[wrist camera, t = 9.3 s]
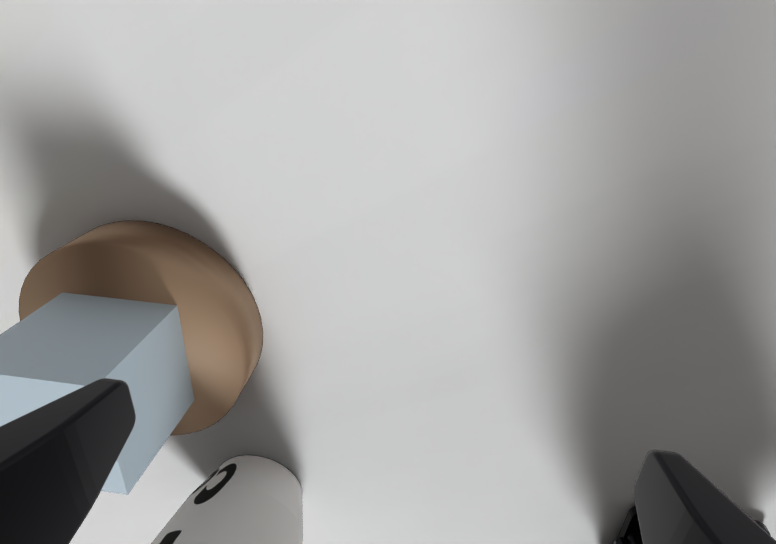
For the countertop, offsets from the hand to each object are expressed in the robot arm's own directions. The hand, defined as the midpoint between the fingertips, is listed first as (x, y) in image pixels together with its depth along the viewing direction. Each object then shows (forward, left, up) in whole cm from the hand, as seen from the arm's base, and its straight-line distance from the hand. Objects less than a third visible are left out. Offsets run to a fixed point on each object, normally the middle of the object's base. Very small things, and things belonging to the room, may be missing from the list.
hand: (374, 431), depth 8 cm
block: (+12, +7, -10) cm, 17 cm away
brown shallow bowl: (+12, +7, -12) cm, 18 cm away
